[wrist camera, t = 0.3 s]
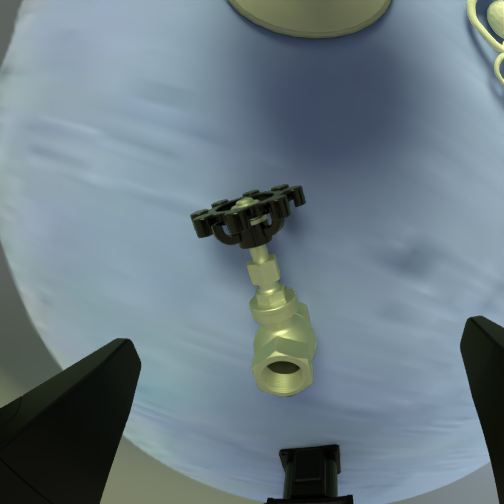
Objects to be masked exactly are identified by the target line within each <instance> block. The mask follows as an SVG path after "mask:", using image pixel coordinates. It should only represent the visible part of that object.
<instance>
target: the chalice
mask: <svg viewBox="0 0 504 504" xmlns="http://www.w3.org/2000/svg"><path fill="white" fill-rule="evenodd" d="M227 1H228V2H229V3H230V4H231V5H232V6H233V7H234V8H235V9H236V10H237V11H238V12H239V13H240V14H241V15H243V16H244V17H246V18H247V19H249V20H250V21H252V22H253V23H255V24H257V25H259V26H262V27H264V28H266V29H269V30H271V31H273V32H277V33H281V34H285V35H289V36H293V37H303V38H314V39H319V38H332V37H340V36H343V35H347V34H351V33H355V32H358V31H360V30H362V29H364V28H366V27H368V26H370V25H372V24H373V23H374V22H375V21H376V20H378V19H379V18H380V17H381V16H382V15H383V14H384V13H385V12H386V10H387V8H388V7H389V5H390V3H391V2H392V0H227Z"/></svg>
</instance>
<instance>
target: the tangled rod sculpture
mask: <svg viewBox="0 0 504 504" xmlns="http://www.w3.org/2000/svg"><path fill="white" fill-rule="evenodd" d="M476 2H477V0H467V3H466V6H467V15H468V18H469V20H470V22H471V24H472V25H473V27H474V28H475V29H476V30H477V31H478V33H479V34H480V35H481V36H482V38H483V39H484V40H485V41H486V42H487V43H488V44H489V45H490V46H491V47H492V48H493V49H494V50H496V51H497V52H499V53H501V54H500V55H499V56H497V58H496V60H495V63H494V73H495V75H496V77H497V79H498V80H499V82H500V83H501V84H502V85H503V86H504V79H503V78H502V77H501V75H500V72H499V65H500V63H501V61H502V60H503V59H504V42H503V43H502V45H501V44H499V43H498V42H497V41H496V40H495V39H494V38H493V37H492V36H491V35H490V34H489V33H488V32H487V30H486V29H485V28H484V27H483V26H482V24H481V23H480V22H479V21H478V19H477V17H476V9H475V6H476ZM487 20H488V23H489V24H490V26H491V28H492V30H493V31H494V32H495V33H496V34H497V35H498V36H500V37H501V38H503V39H504V1H495V2H493V3H491V4H490V6H489V7H488V10H487Z"/></svg>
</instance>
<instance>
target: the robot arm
mask: <svg viewBox="0 0 504 504" xmlns="http://www.w3.org/2000/svg"><path fill="white" fill-rule="evenodd" d="M460 350H461V354H462V358H463V362H464V366H465V369H466V373H467V377H468V382H469V386H470V390H471V394H472V398H473V401H474V404H475V407H476V411H477V414H478V417H479V420H480V423H481V427H482V430H483V434H484V437H485V441H486V444H487V448H488V452H489V456H490V460H491V464H492V469H493V473H494V478H495V483H496V487H497V493H498V498H499V504H504V328H503V327H502V326H500V325H498V324H496V323H494V322H492V321H491V320H489V319H487V318H485V317H483V316H474V317H470V318H468V319H467V321H466V324H465V328H464V331H463V335H462V339H461V342H460ZM140 371H141V361H140V358H139V356H138V354H137V351H136V349H135V347H134V344H133V342H132V341H131V340H130V339H127V338H117V339H115V340H113V341H111V342H110V343H108V344H106V345H105V346H103V347H101V348H100V349H98V350H96V351H95V352H93V353H92V354H90V355H88V356H87V357H85V358H83V359H82V360H80V361H78V362H77V363H75V364H73V365H72V366H70V367H68V368H67V369H65V370H64V371H62V372H60V373H59V374H57V375H55V376H54V377H52V378H50V379H49V380H47V381H45V382H44V383H42V384H40V385H39V386H37V387H36V388H34V389H32V390H30V391H29V392H27V393H26V394H24V395H23V396H20V397H19V398H17V399H15V400H14V401H12V402H10V403H9V404H7V405H5V406H4V407H2V408H0V504H100V501H101V498H102V494H103V491H104V488H105V484H106V481H107V478H108V475H109V472H110V469H111V466H112V463H113V460H114V457H115V454H116V451H117V448H118V445H119V442H120V440H121V437H122V434H123V431H124V428H125V425H126V422H127V420H128V417H129V414H130V410H131V406H132V403H133V398H134V394H135V390H136V386H137V382H138V378H139V375H140ZM279 456H280V459H281V462H282V465H283V468H284V471H285V482H284V492H283V499H273V498H268V499H267V503H264V504H353V496H352V495H347V496H340V497H338V491H337V474H340V472H341V471H340V451H339V445H328V446H318V447H308V448H296V449H282V450H280V451H279Z"/></svg>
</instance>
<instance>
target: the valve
mask: <svg viewBox="0 0 504 504" xmlns="http://www.w3.org/2000/svg"><path fill="white" fill-rule="evenodd" d="M291 200H294V204H295V207H298V206H301V205H304V204H305V203H306V201H305V197H304V193H303V189H302V186H293V187H289V185H288V184H283V185H279V186H275V187H273V188H271V190H269V191H265V192H260V191H259V190H253V191H249V192H246V193H244V194H243V197H240V198H237V199H234V200H230V201H228V200H227V199H225V200H221V201H217V202H215V203H213V204H212V205H211V206H212V209H210V210H208V209H203V210H200V211H197V212H194V213H192V214H191V215H190V217H191V220H192V223H193V226H194V229H195V231H196V233H197V236H198V237H199V238H204V237H208V236H211V235H214V236H215V238H216V239H217V240H219V241H220V242H222V243H224V244H227V245H234V244H238V243H239V246H240V248H243V249H249V250H250V253H251V257H252V258H251V259H249V260H248V262H247V269H248V272H249V275H250V278H251V282H252V285H259V288H258V289H257V291H256V295H255V296H254V297H253V298H252V299H251V300H250V303H249V306H250V310H251V313H252V316H253V319H254V320H255V321H256V322H258V323H260V324H261V326H260V327H259V328H258V330H257V332H256V335H255V339H254V352H255V353H254V358H253V363H252V371H253V374H254V377H255V380H256V383H257V385H258V387H259V389H260V390H262V391H264V392H267V393H270V394H273V395H278V396H285V397H290V396H293V395H295V394H297V393H299V392H301V391H302V390H304V389H305V388H307V387H308V386H309V385H311V384H312V383H313V366H312V362H311V361H312V360H313V358H314V355H315V352H316V346H317V342H316V336H315V333H314V330H313V328H312V327H311V324H310V319H309V315H308V311H307V306H306V305H305V304H302V303H299V302H298V300H297V296H296V292H295V291H294V290H293V289H291V288H288V287H284V285H283V283H279V282H277V280H280V269H279V266H278V262H277V258H276V255H275V254H272V253H268V251H267V247H266V243H268V242H270V241H271V240H272V238H273V237H272V236H273V235H275V234H276V233H278V232H279V231H280V230H281V229H282V227H283V225H284V218H286V217H288V216H290V215H291V210H290V206H289V201H291ZM268 213H270V215H271V219H272V224H271V225H269V222H268V218H267V215H266V214H268ZM222 225H227V226H228V230H229V233H231V234H230V235H226V234H225V233H224V231H223V228H222Z"/></svg>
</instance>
